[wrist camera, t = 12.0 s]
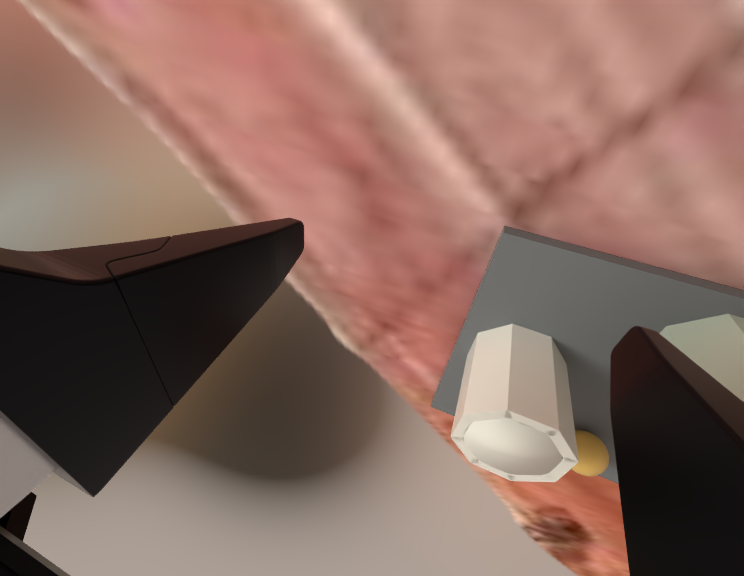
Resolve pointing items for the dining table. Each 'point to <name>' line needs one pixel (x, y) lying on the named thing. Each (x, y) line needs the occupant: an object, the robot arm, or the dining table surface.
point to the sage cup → (713, 347)
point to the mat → (579, 315)
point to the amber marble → (590, 454)
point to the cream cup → (516, 406)
